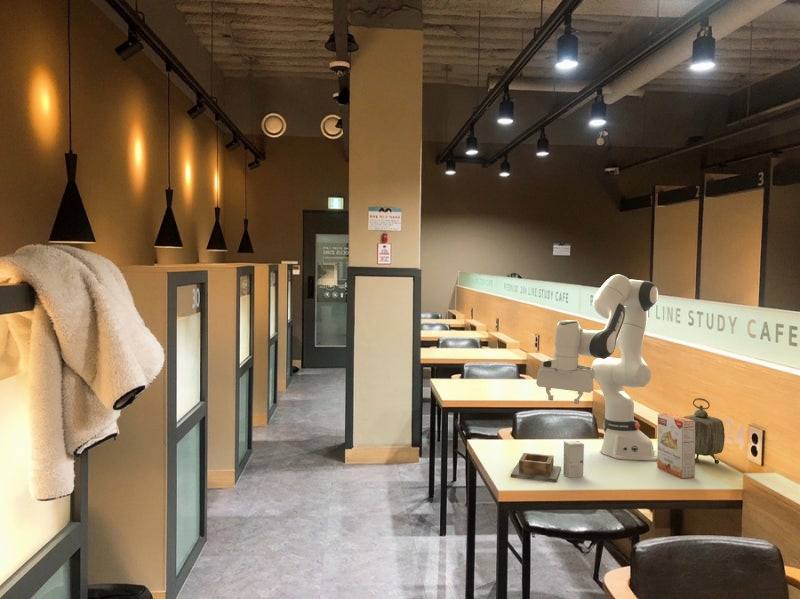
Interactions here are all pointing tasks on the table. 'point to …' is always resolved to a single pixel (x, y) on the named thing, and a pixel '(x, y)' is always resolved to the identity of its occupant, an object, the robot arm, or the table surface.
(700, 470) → the table surface
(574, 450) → the skincare box
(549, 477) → the box holder
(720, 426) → the tabletop clock
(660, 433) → the cracker box
